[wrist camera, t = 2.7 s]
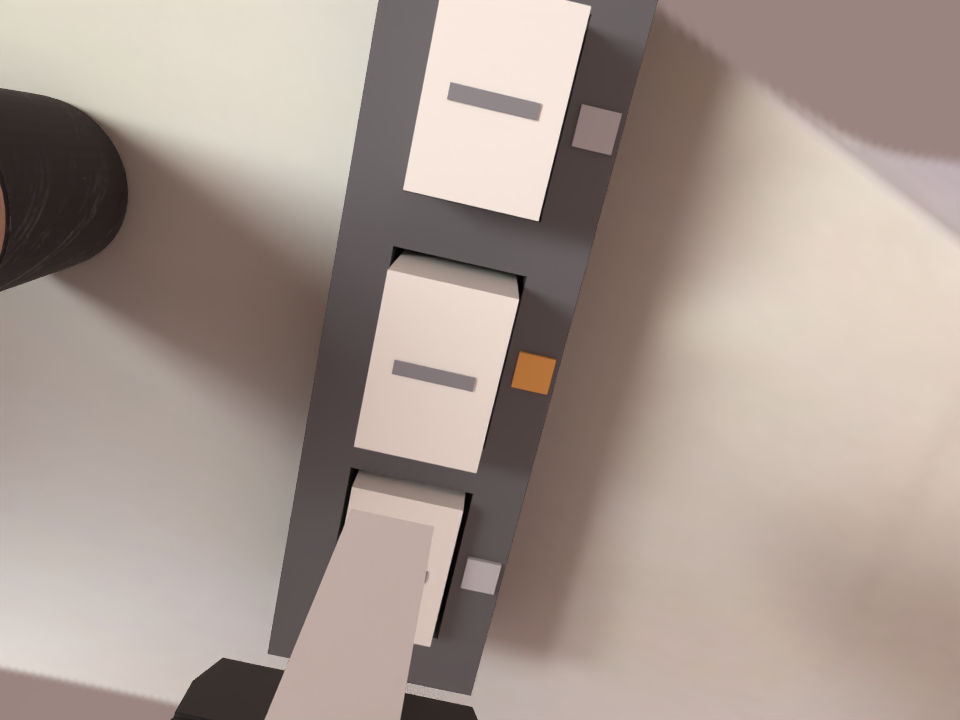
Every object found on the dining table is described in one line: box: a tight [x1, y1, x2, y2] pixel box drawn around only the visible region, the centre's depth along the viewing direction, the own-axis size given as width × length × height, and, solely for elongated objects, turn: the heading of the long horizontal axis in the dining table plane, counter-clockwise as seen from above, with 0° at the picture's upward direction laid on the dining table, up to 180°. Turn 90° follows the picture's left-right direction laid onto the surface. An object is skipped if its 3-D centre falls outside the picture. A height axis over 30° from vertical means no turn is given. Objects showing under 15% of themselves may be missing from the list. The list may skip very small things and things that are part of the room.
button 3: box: [403, 0, 591, 221], centre depth 25 cm, size 4×6×5 cm
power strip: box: [268, 0, 658, 696], centre depth 30 cm, size 9×36×5 cm, turn 167°
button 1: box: [345, 469, 465, 647], centre depth 32 cm, size 4×6×5 cm
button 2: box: [354, 249, 519, 473], centre depth 27 cm, size 4×6×5 cm
